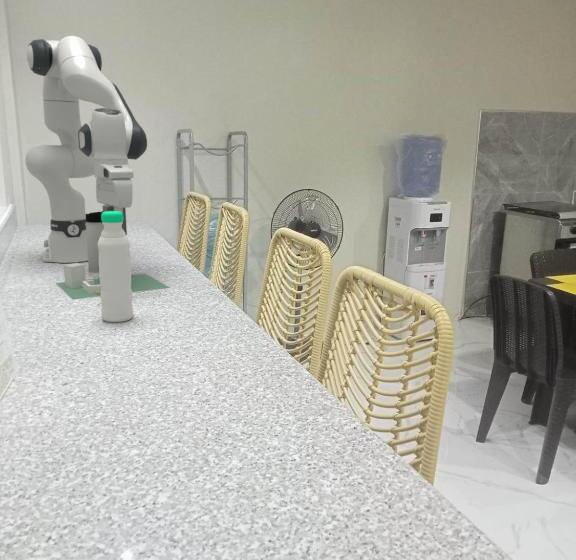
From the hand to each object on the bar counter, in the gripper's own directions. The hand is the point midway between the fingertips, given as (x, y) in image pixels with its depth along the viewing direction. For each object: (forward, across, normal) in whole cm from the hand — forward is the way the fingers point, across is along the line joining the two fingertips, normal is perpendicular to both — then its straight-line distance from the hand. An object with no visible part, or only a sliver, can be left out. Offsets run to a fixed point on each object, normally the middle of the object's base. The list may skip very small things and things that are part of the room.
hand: (114, 221), depth 156 cm
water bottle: (+20, +28, -9) cm, 35 cm away
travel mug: (+19, -20, +1) cm, 27 cm away
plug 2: (+4, 0, 0) cm, 4 cm away
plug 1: (+18, -4, -11) cm, 21 cm away
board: (+19, 0, -2) cm, 19 cm away
